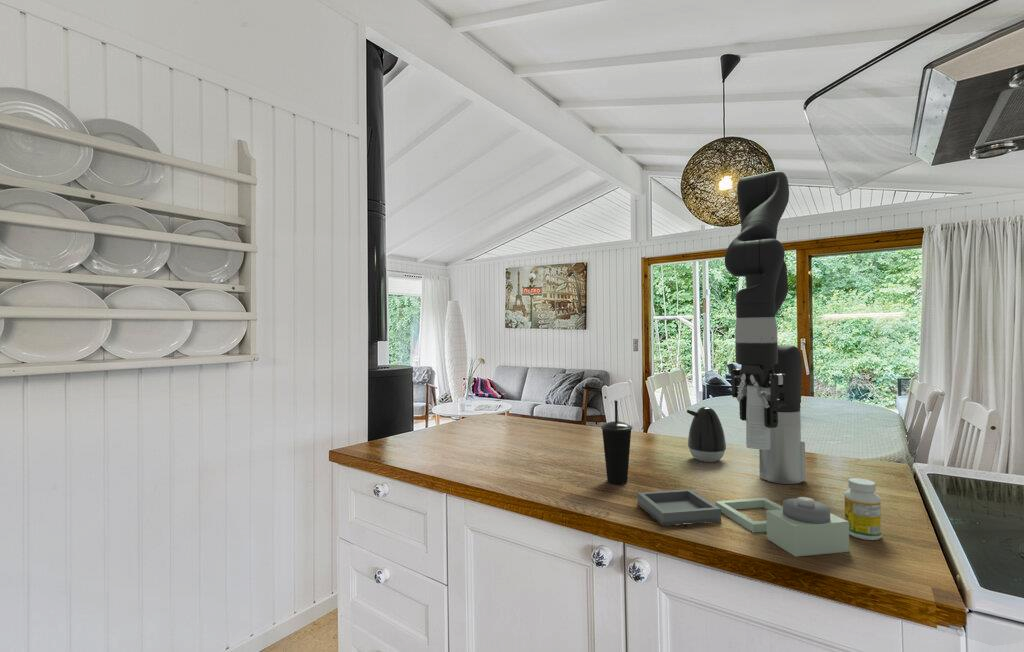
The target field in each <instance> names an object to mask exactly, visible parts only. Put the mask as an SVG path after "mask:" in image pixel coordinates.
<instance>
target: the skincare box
mask: <svg viewBox="0 0 1024 652" xmlns="http://www.w3.org/2000/svg"><path fill="white" fill-rule="evenodd" d="M762 390H763V391H768V392H769V393H770V388H769V387H765V388H762ZM758 391H759V390H758V389H757V387H754V386H751V385H747V394H746V395H747V409H746V421H745V422H746V423H745V424H746V425H745V428H746V429H745V430H746V431H745V432H746V433H745V440H746V441H745V444H746V449H747V448H748V449H753V450H759V449H761V450H770V433H771V428H768V427H765V421H764V408H765V406H764V403H763V401H762V399H761V398H760V397H759V396H758ZM767 397H768V399H769V401H771V400H770V395H769V396H767Z"/></svg>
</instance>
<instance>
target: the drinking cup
mask: <svg viewBox="0 0 1024 652" xmlns="http://www.w3.org/2000/svg"><path fill="white" fill-rule="evenodd" d="M618 405H619V404H618V400H614V421H608V422H606V423H605V424H601V425H600V429H601V431H602V442H603V450H604V451H603V453H604V461H605V470H606V479H607V482H608V483H609V484H612V485H625V484H627V483H628V478H629V477H628V475H629V463H630V462H629V461H630V451H631V449H630V448H631V438H632V436H631V435H632V430H633V426H632V425H630V424H628V423H626V422H623V421H619V420H618V418H619V415H618V413H619V410H618V409H619V408H618Z"/></svg>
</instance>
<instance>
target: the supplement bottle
mask: <svg viewBox="0 0 1024 652" xmlns="http://www.w3.org/2000/svg"><path fill="white" fill-rule="evenodd" d="M847 481H848V485H847V486H848V488H849V489H847V490H846V491H845V492H844V495H843V496H844V520H846V521H848V522H849V536H852V537H854V538H857V539H861V540H865V541H866V540H867V541H877V540H880V539H881V538H882V502H881V497H880V496H879V495H878V494H877V493H875V492H876V490H877V488H876V482H875V481H873V480H870V479H865V478H859V477H857V478H856V477H853V478H852V477H851V478H849V479H848V480H847Z"/></svg>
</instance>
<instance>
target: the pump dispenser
mask: <svg viewBox="0 0 1024 652" xmlns="http://www.w3.org/2000/svg"><path fill="white" fill-rule="evenodd" d="M686 413H687V414H689V415H691V416H693V418H692V420H691V424H690V425H689V426H690V427H689V430H688V436H687V437H688V438H687V447H688V449H689V451H690V454H691V456H692V457H693V458H694V459H695V460H697V461H700V462H702V461H704V462H703V463H716V462H718V461H721V459H722V458H723V457H724V455H725V451H726V450H727V441H726V436H725V432H724V431H725V430H724V427H723V425H722V422H721V419H720V418H719V416H718V414H717V412H716V411H715V410H714V409H713V408H711V407H710V406H703V407H699V408H698V410H697V411H695V410H691V409H687V410H686Z"/></svg>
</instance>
